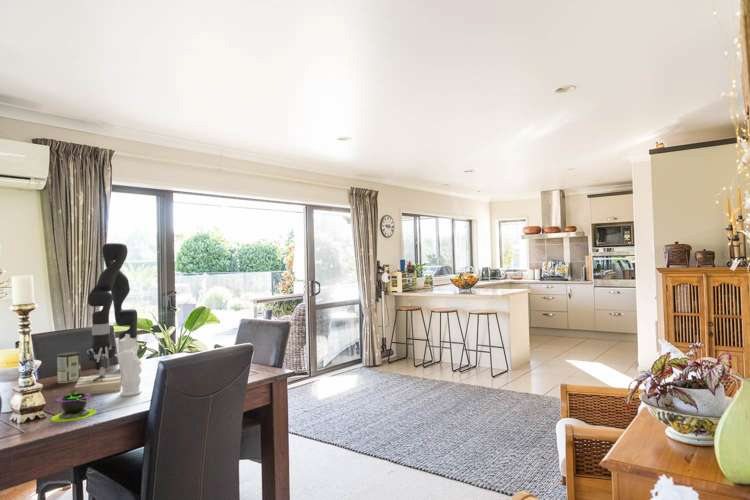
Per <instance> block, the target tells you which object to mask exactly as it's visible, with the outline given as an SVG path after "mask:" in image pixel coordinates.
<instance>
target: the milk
mask: <svg viewBox="0 0 750 500" xmlns="http://www.w3.org/2000/svg"><path fill="white" fill-rule="evenodd" d="M134 346H136V340H135V339H132V338H130V335H129V334H125V337H124V338H123V339H121V340H120V353H121V352H123V351H124V350H130V349H131V348H132V347H134ZM135 355H136V354H135ZM122 368H123V363H122V361H121V358H120V369H119V372H121V378H122V377H123V375H122Z"/></svg>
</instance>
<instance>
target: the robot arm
mask: <svg viewBox="0 0 750 500" xmlns="http://www.w3.org/2000/svg"><path fill="white" fill-rule="evenodd" d="M101 252H102V258H103V261H104V264H105V269H104V270H103V271H102V272H101V273H100V275H99V277H98V281H97V282H96V284H95V286H94V287H93V289H92V290H91V291H89V293H88V296H87V304H88V306H90V307H102V309H101V310H97V311H94V312H93V313H92V315H91V316H92V317H91V319H92V320H91V322H92V323H91V325H92V326H91V343H92V346H91V348H90V349H87V350H86V351H85V353H86V355H87V357H88V359H89V361H90V362H93V363H94V370H95V371H99V369H100V365H99V359H100V358H109V360H110V359H112V358H113V357H114V355H115V354H114V353H115V350H116V346H115V345H111V343H110V341H111V336H110V335H111V333H110V332H111V331H110V330H111V329H110V311H111V307H112V305H113V310H114V311H113V312H114V320H115V324H116V326H117V327H127V326H128V327H129V328H128V329H126V330H124V331H122V332H119V333H118V354H119V353H120V340H121V339H123V338H124V337H125V334H129V335H130V338H132V339H135V340H136V345H137V343H138V312H137V310H136V309H134V308H133V309H132V308H131V309H130V308H129V309H123V308H122V306H123V303H124V301H125V299H127V297H128V295H129V293H130V283H129V279H128V277H127V276H126V275H125V273H124V272H123V271H122V270H121V268H122V267H123V265H124V263H125V261H126V260H127V257H128V246H127V244H125V243H120V242H118V243H117V242H110V243H109V242H107V243H104V244H103V246H102V251H101ZM112 303H113V304H112ZM136 356H137V357H138V352H137V353H136ZM118 364H119V365H118V366H119V368H118V369H119V370H120V358H119V357H118ZM105 369H108V367H105Z"/></svg>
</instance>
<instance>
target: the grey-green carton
mask: <svg viewBox="0 0 750 500" xmlns="http://www.w3.org/2000/svg"><path fill="white" fill-rule="evenodd" d="M56 367H57V369H56V370H57V371H56V372H57V373H56V374H57V383H58V384H68V383H69V382H70V383H74V382H78V380H79V378H80V377H82V376H81V351H80V350H79V351H77V350H75V351H65V352H60V353H57V354H56ZM70 383H69V384H70Z"/></svg>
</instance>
